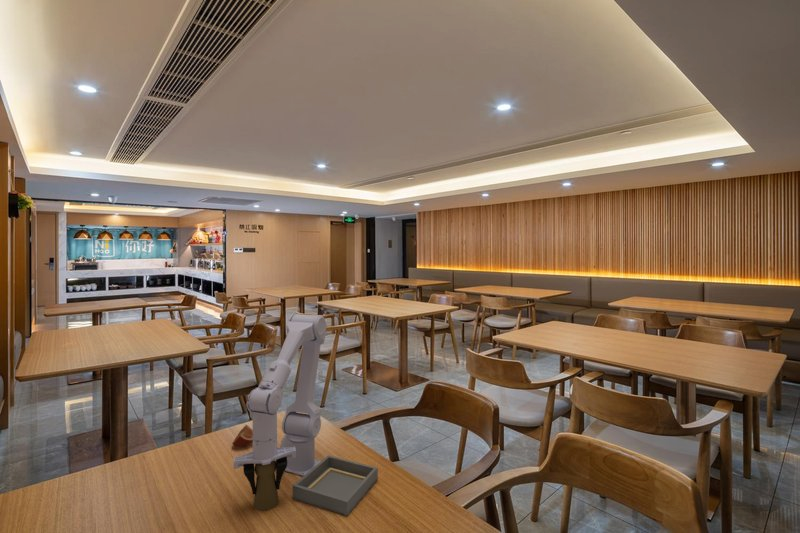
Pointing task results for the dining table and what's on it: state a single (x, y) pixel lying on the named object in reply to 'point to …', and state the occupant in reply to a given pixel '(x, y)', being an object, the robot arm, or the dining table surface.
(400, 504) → the dining table surface
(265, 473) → the cork
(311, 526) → the dining table surface
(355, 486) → the walled box
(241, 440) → the fruit slice
